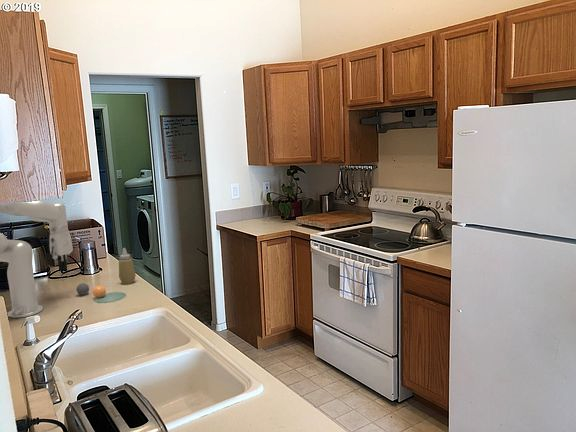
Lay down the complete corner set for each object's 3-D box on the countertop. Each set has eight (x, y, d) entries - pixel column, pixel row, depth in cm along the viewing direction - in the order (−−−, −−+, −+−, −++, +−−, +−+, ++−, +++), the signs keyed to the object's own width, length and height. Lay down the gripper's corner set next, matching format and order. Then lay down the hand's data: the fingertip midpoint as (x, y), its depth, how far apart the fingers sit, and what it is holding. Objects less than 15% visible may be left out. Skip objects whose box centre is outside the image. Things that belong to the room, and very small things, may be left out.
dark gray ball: (74, 283, 221) (74, 294, 219) (85, 280, 221) (85, 291, 219) (80, 286, 226) (80, 297, 224) (91, 284, 226) (91, 294, 224)
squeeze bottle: (122, 286, 233) (117, 250, 230) (117, 282, 239) (113, 248, 236) (138, 282, 237) (134, 248, 234) (133, 279, 244) (130, 245, 241)
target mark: (118, 302, 209) (118, 301, 209) (88, 303, 210) (87, 303, 210) (130, 292, 223) (130, 291, 223) (101, 293, 223) (101, 292, 223)
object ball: (88, 295, 216) (98, 302, 215) (91, 287, 213) (101, 293, 213) (97, 289, 221) (106, 296, 220) (100, 281, 218) (109, 287, 217)
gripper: (54, 232, 208) (58, 273, 210) (76, 227, 222) (80, 265, 225) (40, 232, 209) (44, 273, 212) (63, 227, 224) (66, 265, 226)
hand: (63, 268), depth 218 cm, fingers closed
